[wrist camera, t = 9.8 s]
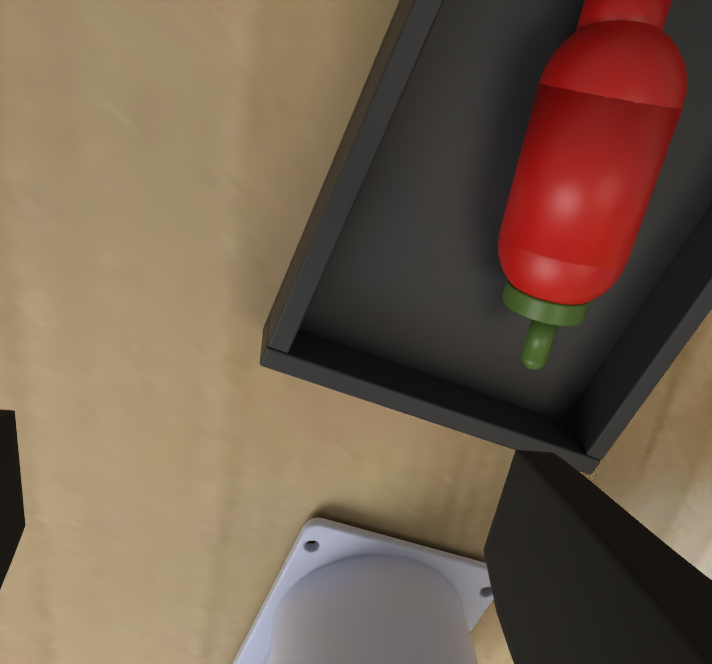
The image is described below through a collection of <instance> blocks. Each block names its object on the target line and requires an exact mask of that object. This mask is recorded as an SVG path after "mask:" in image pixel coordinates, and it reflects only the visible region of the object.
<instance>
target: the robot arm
mask: <svg viewBox="0 0 712 664" xmlns="http://www.w3.org/2000/svg"><path fill="white" fill-rule="evenodd" d="M24 528H25V517H24V506H23V495H22V485H21V474H20V463H19V452H18V442H17V431H16V420H15V411H12V410H0V589H1V586H2V584H3V581H4V579H5V576H6V574H7V572H8V569H9V567H10V564H11V562H12V559H13V557H14V554H15V551H16V549H17V546H18V543H19V541H20V538H21V536H22V533H23V530H24ZM308 541H316V542H315V543H307V542H308ZM484 555H485V560H486V563H484V562H481V561H477V560H473V559H470V558H466V557H463V556H459V555H455V554H452V553H448V552H444V551H441V550H437V549H433V548H430V547H426V546H423V545H419V544H415V543H412V542H408V541H404V540H401V539H397V538H393V537H390V536H386V535H382V534H379V533H375V532H372V531H368V530H364V529H361V528H357V527H353V526H350V525H346V524H342V523H339V522H335V521H332V520H328V519H324V518H312V519H310V520H308V521H307V522H306V523H305V524H304V525H303V527H302V529H301V531H300V533H299V535H298V537H297V539H296V541H295V543H294V545H293V547H292V549H291V550H290V552H289V554H288V556H287V558H286V560H285V562H284V564H283V566H282V568H281V570H280V572H279V574H278V576H277V578H276V579H275V581H274V583H273V585H272V587H271V589H270V591H269V593H268V595H267V597H266V599H265V601H264V603H263V605H262V607H261V608H260V610H259V612H258V614H257V616H256V618H255V620H254V622H253V624H252V626H251V628H250V630H249V632H248V634H247V636H246V637H245V639H244V641H243V643H242V645H241V647H240V649H239V651H238V653H237V655H236V657H235V659H234V661H233V663H232V664H479V663H478V660H477V656H476V653H475V649H474V646H473V642H472V639H471V635H470V632H471V631H472V629H473V628H474V626H475V625H476V624H477V622H478V621H479V619H480V618H481V617H482V615H483V614H484V612H485V611H486V610H487V608H488V607H489V605H490V604H491V603H492V601H493V600H494V602H495V607H496V611H497V615H498V618H499V621H500V624H501V627H502V630H503V633H504V636H505V639H506V642H507V645H508V648H509V650H510V653H511V656H512V659H513V662H514V664H712V580H711V579H709V578H708V577H707V576H705V575H704V574H703V573H702V572H700V571H699V570H698V569H697V568H695V567H694V566H693V565H691V564H690V563H689V562H688V561H686V560H685V559H684V558H683V557H681V556H680V555H679V554H678V553H676V552H675V551H674V550H673V549H671V548H670V547H669V546H668V545H667V544H665V543H664V542H663V541H662V540H660V539H659V538H658V537H657V536H656V535H654V534H653V533H652V532H651V531H649V530H648V529H647V528H646V527H645V526H643V525H642V524H641V523H640V522H639V521H637V520H636V519H635V518H634V517H633V516H631V515H630V514H629V513H628V512H627V511H626V510H624V509H623V508H622V507H621V506H620V505H618V504H617V503H616V502H615V501H614V500H612V499H611V498H610V497H609V496H608V495H606V494H605V493H604V492H603V491H602V490H601V489H599V488H598V487H597V486H596V485H595V484H593V483H592V482H591V481H590V480H588V479H587V478H586V477H585V476H584V475H582V474H581V473H580V472H579V471H577V470H576V469H575V468H574V467H572V466H571V465H570V464H569V463H567V462H566V461H565V460H563V459H562V458H560V457H559V456H558V455H556V454H555V453H553V452H540V451H527V450H516V451H515V454H514V457H513V460H512V463H511V466H510V469H509V473H508V476H507V479H506V482H505V485H504V488H503V491H502V494H501V497H500V500H499V503H498V507H497V510H496V513H495V516H494V519H493V522H492V525H491V528H490V531H489V534H488V537H487V541H486V544H485V547H484ZM485 587H487V588H485Z"/></svg>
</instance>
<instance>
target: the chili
mask: <svg viewBox="0 0 712 664" xmlns="http://www.w3.org/2000/svg"><path fill="white" fill-rule="evenodd" d="M671 3H672V0H584V4H583V7H582V11H581V15H580V18H579V22H578V25H577V29H576V32H574V33H573V34H572V35H571V36H570V37H568V38H567V39H566V40H565V41H564V42H562V43H561V45H560V46H559V47H558V48H557V49H556V51H555V52H554V53H553V54H552V55H551V57H550V59H549V61H548V62H547V64H546V66H545V68H544V70H543V73H542V75H541V78H540V81H539V84H538V87H537V91H536V95H535V99H534V103H533V106H532V110H531V114H530V118H529V122H528V126H527V129H526V133H525V137H524V141H523V145H522V148H521V152H520V156H519V160H518V164H517V167H516V171H515V175H514V179H513V183H512V187H511V190H510V194H509V198H508V202H507V206H506V209H505V213H504V217H503V221H502V225H501V228H500V233H499V240H498V255H499V259H500V262H501V266H502V269H503V271H504V273H505V275H506V277H507V281H506V284H505V288H504V291H503V295H502V299H503V302H504V304H505V305H506V306H507V307H508V308H510V309H511V310H512V311H514V312H516V313H518V314H520V315H522V316H524V317H526V318H529V319H531V323H530V326H529V329H528V333H527V336H526V339H525V342H524V346H523V349H522V352H521V361H522V363H523V365H524V366H525V367H527V368H528V369H532V370H537V369H540V368H542V367H543V366H544V365H545V364H546V362H547V359H548V356H549V353H550V350H551V347H552V344H553V341H554V338H555V335H556V332H557V329H558V325H559V326H574V325H578V324H581V323H582V322H583V321H584V320H585V318H586V315H587V312H588V309H589V306H590V303H591V301H592V300H593V299H595V298H597V297H599V296H600V295H602V294H604V293H605V292H606V291H607V290H608V289H609V288H611V287H612V286H613V285H614V283H615V282H616V281H617V280H618V278H619V277H620V276H621V274H622V272H623V270H624V268H625V266H626V263H627V262H628V259H629V257H630V254H631V251H632V248H633V245H634V243H635V240H636V237H637V234H638V232H639V229H640V226H641V223H642V220H643V218H644V215H645V212H646V209H647V207H648V204H649V201H650V198H651V196H652V193H653V190H654V187H655V184H656V182H657V179H658V176H659V173H660V171H661V168H662V165H663V162H664V159H665V157H666V154H667V151H668V148H669V146H670V143H671V140H672V137H673V135H674V132H675V129H676V126H677V123H678V121H679V118H680V115H681V112H682V110H683V105H684V101H685V97H686V93H687V73H686V67H685V63H684V60H683V58H682V55H681V53H680V50H679V49H678V47H677V46H676V44H675V43H674V42H673V40H672V39H671V37H669V36H668V35H667V34H666V33H665V32H664V31H662V30H663V27H664V24H665V21H666V18H667V15H668V12H669V9H670V6H671Z"/></svg>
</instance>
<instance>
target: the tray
mask: <svg viewBox="0 0 712 664" xmlns="http://www.w3.org/2000/svg"><path fill="white" fill-rule="evenodd" d="M583 4H584V0H400V1H399V3H398V5H397V8H396V10H395V13H394V15H393V18H392V20H391V22H390V25H389V27H388V30H387V32H386V34H385V37H384V39H383V42H382V44H381V46H380V49H379V51H378V54H377V56H376V58H375V61H374V63H373V66H372V68H371V70H370V73H369V75H368V78H367V80H366V82H365V85H364V87H363V90H362V92H361V94H360V97H359V99H358V102H357V104H356V106H355V109H354V111H353V114H352V116H351V119H350V121H349V123H348V126H347V128H346V131H345V133H344V135H343V138H342V140H341V143H340V145H339V147H338V150H337V152H336V155H335V157H334V159H333V162H332V164H331V167H330V169H329V171H328V174H327V176H326V179H325V181H324V183H323V186H322V188H321V191H320V193H319V195H318V198H317V200H316V203H315V205H314V208H313V210H312V212H311V215H310V217H309V220H308V222H307V224H306V227H305V229H304V232H303V234H302V236H301V239H300V241H299V244H298V246H297V248H296V251H295V253H294V256H293V258H292V260H291V263H290V265H289V268H288V270H287V272H286V275H285V277H284V280H283V282H282V284H281V287H280V289H279V292H278V294H277V296H276V299H275V301H274V304H273V306H272V309H271V311H270V313H269V316H268V318H267V321H266V323H265V325H264V328H263V337H262V346H261V356H260V365H261V366H264V367H267V368H270V369H273V370H276V371H279V372H282V373H285V374H288V375H291V376H294V377H297V378H300V379H303V380H306V381H309V382H312V383H315V384H318V385H321V386H324V387H327V388H330V389H333V390H336V391H339V392H342V393H345V394H348V395H351V396H354V397H357V398H360V399H363V400H366V401H369V402H372V403H375V404H378V405H381V406H384V407H387V408H390V409H393V410H396V411H399V412H402V413H405V414H409V415H412V416H415V417H418V418H421V419H424V420H427V421H430V422H433V423H436V424H439V425H442V426H445V427H448V428H451V429H454V430H457V431H460V432H463V433H466V434H469V435H472V436H475V437H478V438H481V439H484V440H487V441H490V442H493V443H496V444H499V445H502V446H505V447H508V448H511V449H514V450H527V451H540V452H553V453H555V454H556V455H558V456H559V457H560V458H562V459H563V460H565V461H566V462H567V463H569V464H570V465H571V466H572V467H574V468H575V469H576V470H577V471H580V472H583V473H586V474H592V473H593V471H594V470H595V469H596V467H597V466H598V464H599V463H600V460H602V459H603V458H604V456H605V455H606V453H607V452H608V451H609V449H610V448H611V447H612V445H613V444H614V442H615V441H616V440H617V438H618V437H619V436H620V434H621V433H622V431H623V430H624V429H625V427H626V426H627V424H628V423H629V422H630V420H631V419H632V418H633V416H634V415H635V413H636V412H637V411H638V409H639V408H640V407H641V405H642V404H643V402H644V401H645V400H646V398H647V397H648V396H649V394H650V393H651V391H652V390H653V389H654V387H655V386H656V384H657V383H658V382H659V380H660V379H661V378H662V376H663V375H664V373H665V372H666V371H667V369H668V368H669V367H670V365H671V364H672V362H673V361H674V360H675V358H676V357H677V356H678V354H679V353H680V351H681V350H682V349H683V347H684V346H685V344H686V343H687V342H688V340H689V339H690V338H691V336H692V335H693V333H694V332H695V331H696V329H697V328H698V327H699V325H700V324H701V322H702V321H703V320H704V318H705V317H706V316H707V314H708V313H709V311H710V310H711V309H712V0H672V3H671V6H670V9H669V12H668V15H667V18H666V21H665V24H664V27H663V30H662V31H664V32H665V33H666V34H667V35H668V36H669V37H671V39H672V40H673V42H674V43H675V44H676V46H677V47H678V49H679V50H680V53H681V55H682V58H683V60H684V63H685V67H686V73H687V93H686V97H685V101H684V105H683V110H682V112H681V115H680V118H679V121H678V123H677V126H676V129H675V132H674V135H673V137H672V140H671V143H670V146H669V148H668V151H667V154H666V157H665V159H664V162H663V165H662V168H661V171H660V173H659V176H658V179H657V182H656V184H655V187H654V190H653V193H652V196H651V198H650V201H649V204H648V207H647V209H646V212H645V215H644V218H643V220H642V223H641V226H640V229H639V232H638V234H637V237H636V240H635V243H634V245H633V248H632V251H631V254H630V257H629V259H628V262H627V263H626V266H625V268H624V270H623V272H622V274H621V276H620V277H619V278H618V280H617V281H616V282H615V283H614V285H613V286H612V287H611V288H609V289H608V290H607V291H606V292H605V293H604V294H602V295H600V296H599V297H597V298H595V299H593V300H592V301H591V303H590V306H589V309H588V312H587V315H586V318H585V320H584V321H583V322H582V323H581V324H578V325H574V326H559V325H558V329H557V332H556V335H555V338H554V341H553V344H552V347H551V350H550V353H549V356H548V359H547V362H546V364H545V365H544V366H543V367H542V368H540V369H537V370H532V369H528V368H527V367H525V366H524V365H523V363H522V361H521V352H522V349H523V346H524V342H525V339H526V336H527V333H528V329H529V326H530V323H531V319H529V318H526V317H524V316H522V315H520V314H518V313H516V312H514V311H512V310H511V309H510V308H508V307H507V306H506V305H505V304H504V302H503V299H502V295H503V291H504V288H505V284H506V281H507V277H506V275H505V273H504V271H503V269H502V266H501V262H500V259H499V255H498V240H499V233H500V228H501V225H502V221H503V217H504V213H505V209H506V206H507V202H508V198H509V194H510V190H511V187H512V183H513V179H514V175H515V171H516V167H517V164H518V160H519V156H520V152H521V148H522V145H523V141H524V137H525V133H526V129H527V126H528V122H529V118H530V114H531V110H532V106H533V103H534V99H535V95H536V91H537V87H538V84H539V81H540V78H541V75H542V73H543V70H544V68H545V66H546V64H547V62H548V61H549V59H550V57H551V55H552V54H553V53H554V52H555V51H556V49H557V48H558V47H559V46H560V45H561V43H562V42H564V41H565V40H566V39H567V38H568V37H570V36H571V35H572V34H573V33H574V32H576V29H577V25H578V22H579V18H580V15H581V11H582V7H583Z"/></svg>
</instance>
